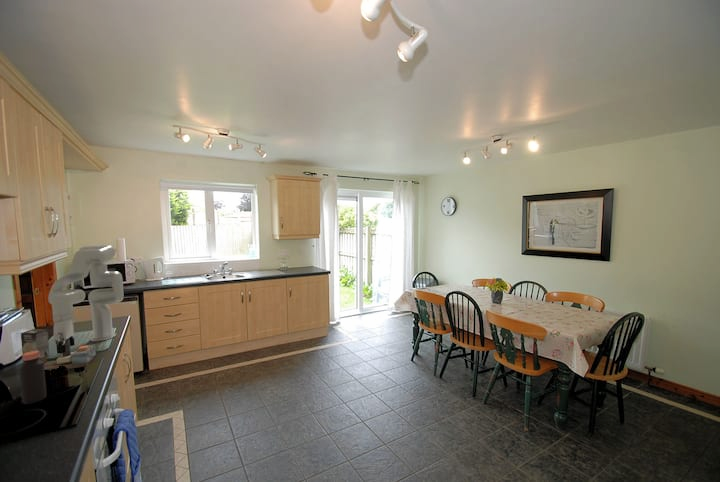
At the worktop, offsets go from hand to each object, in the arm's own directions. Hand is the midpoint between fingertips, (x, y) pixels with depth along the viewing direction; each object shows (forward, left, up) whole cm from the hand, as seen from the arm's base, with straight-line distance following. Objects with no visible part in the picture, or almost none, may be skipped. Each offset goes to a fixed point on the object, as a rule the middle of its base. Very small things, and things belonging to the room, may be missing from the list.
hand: (66, 349), depth 157 cm
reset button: (0, +7, -3) cm, 8 cm away
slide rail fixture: (0, -1, -8) cm, 8 cm away
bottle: (+36, +3, -8) cm, 37 cm away
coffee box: (-16, -18, -8) cm, 26 cm away
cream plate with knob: (0, 0, -6) cm, 6 cm away
